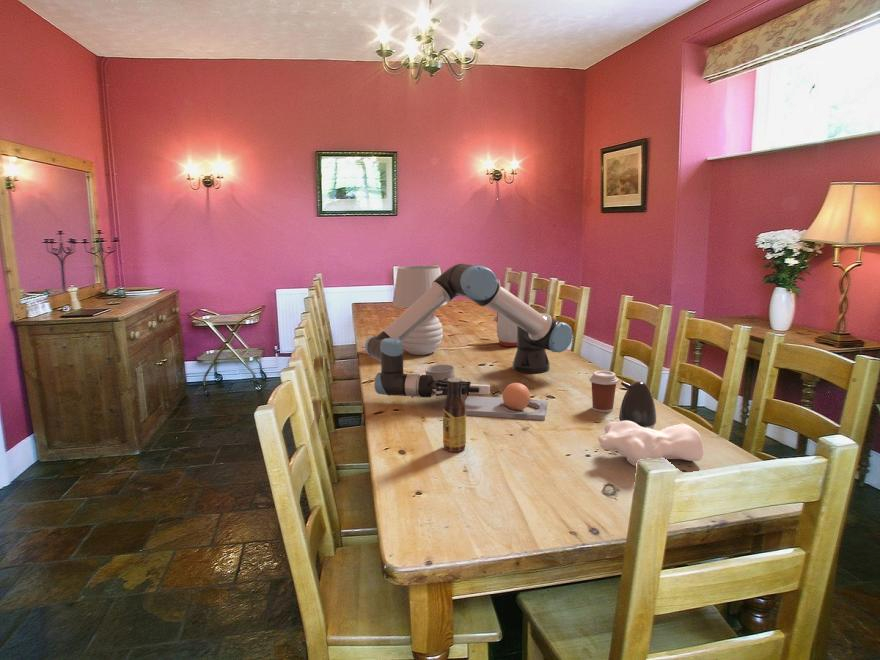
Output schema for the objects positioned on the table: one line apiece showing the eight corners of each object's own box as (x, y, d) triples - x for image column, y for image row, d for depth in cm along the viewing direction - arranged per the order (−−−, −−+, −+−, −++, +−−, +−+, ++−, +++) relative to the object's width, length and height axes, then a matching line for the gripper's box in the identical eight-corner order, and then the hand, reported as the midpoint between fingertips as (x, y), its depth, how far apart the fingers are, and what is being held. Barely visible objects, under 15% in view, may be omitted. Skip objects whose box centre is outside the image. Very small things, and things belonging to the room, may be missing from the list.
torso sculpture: (669, 448, 157) (583, 447, 154) (675, 414, 155) (588, 412, 152) (708, 477, 140) (612, 476, 136) (715, 439, 138) (618, 437, 134)
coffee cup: (582, 406, 189) (583, 371, 186) (604, 402, 192) (606, 368, 190) (600, 415, 180) (601, 378, 178) (623, 411, 184) (625, 375, 182)
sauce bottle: (442, 444, 159) (441, 375, 155) (464, 443, 159) (464, 375, 155) (444, 454, 152) (443, 382, 148) (467, 453, 153) (467, 381, 149)
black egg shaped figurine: (625, 423, 173) (628, 374, 170) (660, 430, 166) (663, 380, 164) (612, 433, 165) (614, 382, 162) (648, 441, 159) (651, 389, 156)
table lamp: (457, 350, 272) (456, 266, 265) (428, 361, 251) (426, 270, 244) (414, 344, 286) (412, 264, 278) (383, 354, 265) (379, 268, 257)
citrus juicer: (493, 341, 291) (493, 302, 287) (527, 341, 289) (528, 302, 285) (491, 347, 276) (491, 307, 272) (528, 348, 273) (528, 307, 270)
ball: (508, 381, 192) (518, 405, 192) (493, 391, 185) (503, 416, 186) (529, 376, 185) (539, 401, 186) (514, 386, 179) (525, 413, 180)
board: (459, 414, 183) (459, 409, 183) (468, 400, 197) (468, 395, 197) (544, 420, 177) (544, 415, 176) (547, 404, 191) (547, 400, 191)
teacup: (451, 393, 205) (451, 371, 204) (422, 392, 207) (422, 370, 206) (458, 382, 219) (458, 362, 217) (430, 381, 221) (430, 361, 219)
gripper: (425, 390, 199) (492, 394, 194) (415, 402, 187) (486, 406, 181) (424, 370, 198) (492, 373, 192) (414, 380, 185) (486, 384, 180)
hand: (489, 389), depth 187 cm, fingers closed
